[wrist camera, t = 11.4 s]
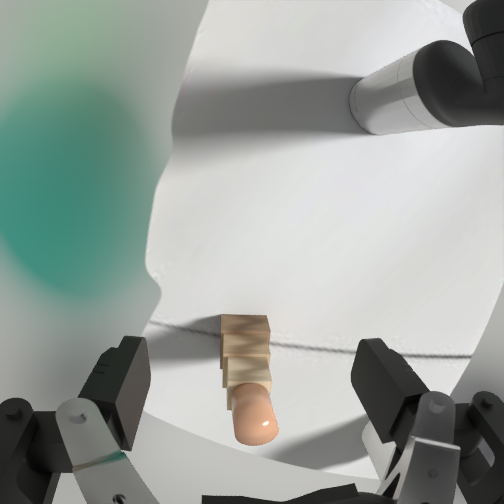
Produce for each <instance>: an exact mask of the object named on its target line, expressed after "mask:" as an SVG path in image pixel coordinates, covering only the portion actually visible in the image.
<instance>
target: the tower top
mask: <svg viewBox="0 0 504 504" xmlns="http://www.w3.org/2000/svg"><path fill="white" fill-rule="evenodd" d="M246 383H257V384H260V385H263V386H264V387H265V388H266V389H267V390H268V393H269V396H270V390H271V384H272V379H271V375H270V370H269V365H268V360H267V357H237V356H228V366H227V410H232V408H231V400H230V396H231V393H232V392H233V390H234V389H235V388H237V387H238V386H240V385H243V384H246Z"/></svg>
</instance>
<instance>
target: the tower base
mask: <svg viewBox="0 0 504 504" xmlns="http://www.w3.org/2000/svg"><path fill="white" fill-rule="evenodd" d="M270 332H271V331H270V327H269V323H268V319H267V315H229V314H221V349H220V369H223V339H224V333H232V334H266V336H267V341H268V345H269V341H270Z"/></svg>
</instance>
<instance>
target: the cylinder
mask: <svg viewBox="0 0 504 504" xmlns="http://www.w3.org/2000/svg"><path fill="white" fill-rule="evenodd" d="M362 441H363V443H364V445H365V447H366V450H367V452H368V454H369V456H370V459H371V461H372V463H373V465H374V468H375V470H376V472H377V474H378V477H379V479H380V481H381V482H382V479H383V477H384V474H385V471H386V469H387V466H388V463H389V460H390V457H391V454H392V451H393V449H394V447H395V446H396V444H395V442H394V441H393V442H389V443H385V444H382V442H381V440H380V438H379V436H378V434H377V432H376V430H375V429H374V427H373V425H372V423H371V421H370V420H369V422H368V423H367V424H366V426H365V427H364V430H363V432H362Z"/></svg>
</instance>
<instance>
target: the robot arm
mask: <svg viewBox="0 0 504 504" xmlns="http://www.w3.org/2000/svg"><path fill="white" fill-rule="evenodd" d="M463 24H464V28H465V31H466V34H467V37H468V40H469V43H470V45H471V47H472V51H473V54H474V56H475V57H474V56H473V55H472V54H471V53H470V52H469V51H468V50H467V49H465V48H464V47H463V46H461V45H459V44H457V43H455V42H452V41H448V40H439V41H435V42H432V43H430V44H428V45H426V46H424V47H422V48H420V49H418V50H416V51H414V52H412V53H410V54H408V55H406V56H404V57H402V58H400V59H399V60H397V61H395V62H393V63H391V64H389V65H387V66H385V67H383V68H382V69H380V70H378V71H376V72H374V73H372V74H371V75H369V76H367V77H365V78H363V79H362V80H360V81H359V82H357V83H356V84H355V85H354V87H353V88H352V90H351V93H350V99H349V102H350V109H351V112H352V114H353V117H354V119H355V120H356V121H357V123H358V124H359V125H360V126H361V127H362V128H363V129H365V130H366V131H368V132H370V133H372V134H376V135H387V134H395V133H404V132H412V131H421V130H431V129H441V128H453V127H467V126H477V125H504V0H476V1H475V2H473V3H472V4H470V5H469V6H468V7H467V8H466V10H465V11H464V13H463ZM150 381H151V371H150V364H149V358H148V351H147V343H146V339H145V338H144V337H136V336H124V337H123V339H122V341H121V343H120V345H119V347H118V348H114V347H111V348H110V349H108V350H107V351H105V352H104V353H103V354H101V356H100V358H99V360H98V361H97V364H96V365H95V367H94V368H93V370H92V372H91V374H90V376H89V377H88V379H87V381H86V383H85V385H84V386H83V388H82V390H81V392H80V394H79V396H78V397H77V398H73V399H70V400H67V401H65V402H63V403H62V404H61V405H60V406H59V407H58V409H57V410H56V411H33V409H32V407H31V405H30V403H29V402H28V401H26V400H24V399H22V398H11V399H7V400H6V401H4V402H2V403H1V404H0V504H52V501H53V497H54V494H55V491H56V487H57V484H58V481H59V477H60V474H61V473H73V474H74V476H75V479H76V481H77V483H78V485H79V487H80V490H81V492H82V494H83V496H84V498H85V500H86V502H87V504H159V502H158V501H157V500H156V498H155V497H154V496H153V494H152V493H151V492H150V490H149V489H148V487H147V486H146V485H145V483H144V482H143V480H142V479H141V477H140V476H139V474H138V473H137V471H136V470H135V468H134V467H133V465H132V464H131V462H130V460H129V459H128V457H127V456H126V454H125V453H124V452H122V451H121V450H126V451H131V450H132V446H133V442H134V439H135V435H136V432H137V428H138V425H139V421H140V418H141V414H142V411H143V407H144V404H145V400H146V397H147V394H148V390H149V387H150ZM351 383H352V386H353V388H354V390H355V392H356V394H357V396H358V397H359V399H360V401H361V403H362V405H363V407H364V409H365V411H366V413H367V415H368V417H369V419H370V421H371V423H372V425H373V427H374V429H375V430H376V432H377V434H378V436H379V438H380V440H381V442H382V444H385V443H389V442H393V441H394V442H395V444H396V446H395V447H394V449H393V451H392V454H391V457H390V460H389V463H388V466H387V469H386V471H385V474H384V477H383V479H382V482H381V484H380V486H379V489H378V490H377V492H376V494H373V493H367V492H358V491H357V489H356V486H355V483H353V484H348V485H343V486H338V487H333V488H326V489H320V490H317V491H315V492H312V493H309V494H306V495H303V496H301V497H298V498H295V499H291V500H288V501H284V502H277V501H270V500H262V499H256V498H250V497H244V496H208V495H202V504H453V500H454V495H455V489H456V483H457V484H458V486H459V488H460V490H461V492H462V494H463V496H464V498H465V500H466V502H467V504H504V403H503V402H502V401H501V400H500V398H499V397H498V396H496V395H494V394H493V393H490V392H487V391H481V392H478V393H476V394H475V395H474V397H473V399H472V401H471V402H470V403H461V404H455V403H454V401H453V400H452V399H451V398H450V397H449V396H448V395H446V394H444V393H441V392H437V391H430V390H429V389H428V388H427V387H426V385H425V384H424V383H423V382H422V380H421V379H420V378H419V377H418V375H417V374H416V373H415V372H414V371H413V369H412V368H411V367H410V365H408V363H407V362H406V360H405V359H404V358H403V357H402V356H401V355H400V354H398V353H397V352H395V351H394V350H392V349H389V348H388V347H387V346H386V344H385V343H384V342H383V341H382V339H380V338H372V339H362V340H361V341H360V342H359V345H358V348H357V352H356V356H355V360H354V363H353V367H352V371H351ZM483 439H485V441H486V442H487V444H488V445H489V447H490V448H491V450H492V451H493V453H494V456H495V461H494V464H493V466H492V467H490V465H489V463H488V462H487V460H486V459H485V457H484V456H483V454H482V453H481V451H480V450H479V448H478V446H479V445H480V444H481V442H482V441H483Z"/></svg>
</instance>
